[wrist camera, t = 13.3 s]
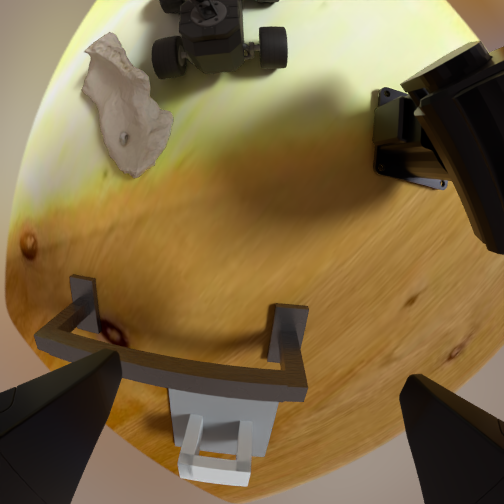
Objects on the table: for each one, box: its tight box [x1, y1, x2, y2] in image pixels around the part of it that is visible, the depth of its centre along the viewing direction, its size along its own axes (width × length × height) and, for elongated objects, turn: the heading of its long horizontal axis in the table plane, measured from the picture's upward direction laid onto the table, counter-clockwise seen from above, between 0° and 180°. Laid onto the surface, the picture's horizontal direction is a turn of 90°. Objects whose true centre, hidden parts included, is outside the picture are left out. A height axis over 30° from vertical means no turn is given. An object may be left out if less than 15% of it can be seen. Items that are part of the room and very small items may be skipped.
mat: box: [169, 389, 279, 457], centre depth 25 cm, size 10×10×1 cm
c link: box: [178, 414, 253, 486], centre depth 21 cm, size 3×6×6 cm, turn 84°
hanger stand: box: [34, 274, 309, 402], centre depth 18 cm, size 19×5×7 cm, turn 84°
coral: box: [81, 32, 173, 178], centre depth 15 cm, size 6×10×4 cm, turn 32°
